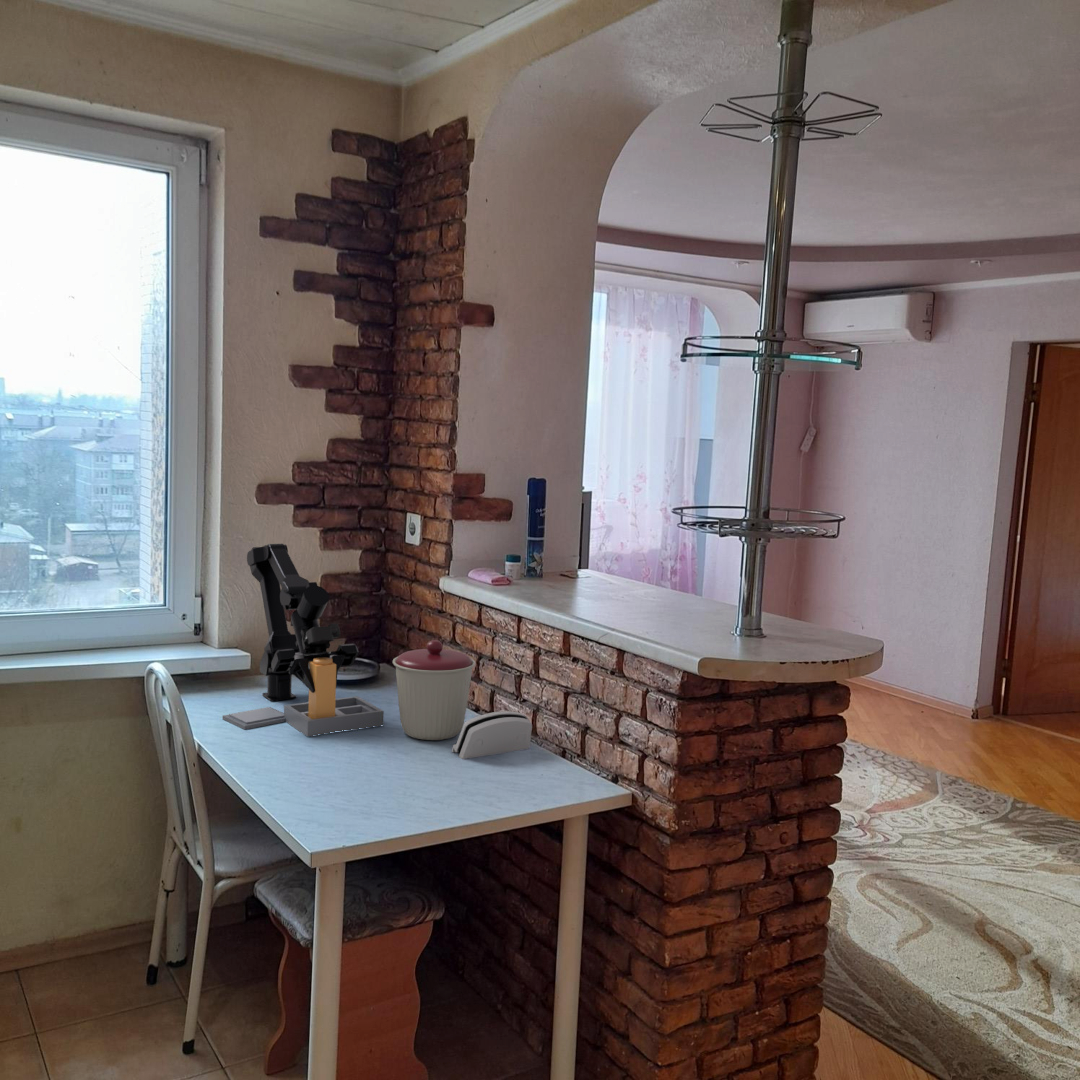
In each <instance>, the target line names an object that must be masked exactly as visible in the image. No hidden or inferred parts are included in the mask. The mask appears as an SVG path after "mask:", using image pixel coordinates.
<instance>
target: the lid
mask: <svg viewBox="0 0 1080 1080" xmlns="http://www.w3.org/2000/svg"><path fill="white" fill-rule="evenodd" d="M222 720H224V721H226V722H228V723H229V724H231V725H234V726H236V727H237V728H240V729H242V730H249V729H255V728H259V727H260V728H261V727H265V726H272V725H277V724H279V723H281V724H282V723H287V722H286V718H285V717H284V711H281V710H278V709H276V708H273V707H271V706H266V707H262V708H255V709H250V710H245V711H240V712H235V713H234V712H233V713H228V714H224V715H222Z"/></svg>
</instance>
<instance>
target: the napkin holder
mask: <svg viewBox="0 0 1080 1080" xmlns="http://www.w3.org/2000/svg"><path fill="white" fill-rule="evenodd" d="M532 730H533V724H532V722H531V719H529V718H528V716H526V715H525V714H524V713H522V712H518V711H509V710H507V711H506V710H504V711H503V710H501V711H494V712H489V713H484V714H481V715H478V716H476V717H473V718H470V719H468V720H466V721H464V724H463V727H462V729H461V731H460V732H459V735H458V738H457V740H456V741H457V742H456V744H453V745H452V748H451V749H452V750H451V753H457V754H458V753H459V755H458V758H460V760H466V759H471V758H477V757H484V756H489V755H490V756H492V755H497V754H505V753H510V752H516V751H521V750H528V749H530V747H531V746H530V745H531V736H532Z"/></svg>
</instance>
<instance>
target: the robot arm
mask: <svg viewBox="0 0 1080 1080" xmlns="http://www.w3.org/2000/svg"><path fill="white" fill-rule="evenodd" d="M246 562H247V565H248V566H249V569H250V574H251V575H252V577H254V579H256V580H257V582H259V585H260V591H261V597H262V603H263V604H262V605H263V607H264V608H263V609H264V615H265V616H264V617H265V620H266V625H267V626H266V627H267V633H268V639H267V641H266V643H265V645H264V647H263V650H264V652H263V654H262V656H261V659H260V661H259V665H258V666H259V672H260V673H261V674H263V675H264V676H265V677H267V689H266V691H267V692H263V693H262V696H263V697H264V698H266V699H267V700H268V701H270V702H276V701H284V700H292V699H297V695H296V694H294V693H292V682H293V681H292V678H293V677H295V678H297V679H298V680H299V681H300V682H301V683H302V684H303V685H304V686H305V687H306V688H307V689H308V691H309V690H310V691H311V692H312V693H314V692H315V687H314V682H313V679H312V676H311V673H310V670H309V662H312V661H313V659H314V658H319V657H327V658H332V659H333V663H335V664H336V686H337V684H338V682H337V681H338V673H339V670H340V668H344V667H351V666H352V665H354V662H355V661H356V659H357V657H358V656H359V654H360V651H359V648H358V646H357V645H356V644H355V643H345V644H338V647H337V648H336V650H334V651H328V650H327V649H330V647H331V642H334V640H335V639H338V638H339V637H341V630H340V629H341V628H340V626H339V623H336V622H334V623H330V624H328V625H327V626H326V625H325V626H320V623H319V618H321V617H322V615H323V614H324V612H325V611H324V610H326V607H327V604H328V603H329V600H330V594H329V592H328V591H327V590H326V589H325V588H324V587H322V586H320V585H318V583H317V582H316V581H311V582H310V581H309V580H308V579H306V578H304V577H302V576H300V574H299V572H298V570H297V568H296V566H295V564H294V562H293V560H292V558H291V556H290V555H289V550H288V546H287V544H284V543H268V544H265V545H263V546H254V547H252V548H251V549H250V550H249V551H248V552H247V555H246ZM285 610H286V611H291V610H292V611H293V610H294V611H293V612H292V613H291V614H290V626H291V627H293V631H294V634H292V633H291V632H290V631H289V628H288V627H289V626H288V622H287V618H286V617H287V616H286V611H285ZM292 675H293V677H292Z"/></svg>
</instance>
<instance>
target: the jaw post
mask: <svg viewBox="0 0 1080 1080" xmlns="http://www.w3.org/2000/svg"><path fill="white" fill-rule="evenodd" d="M308 666H309V670H310V673H311V676H312V679H313V682H314V687H315V692H314V693H312V692H311V691H310V690H309V689H308V702H309V709H308V717H309V718H311V719H317V718H325V717H332V716H335V701H336V699H337V698H336V697H337V695H336V692H337V691H336V690H337V685H336V664H335V663H333V659H332V658H327V657H319V658H314V659H313V661H312V662H309V663H308Z"/></svg>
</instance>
